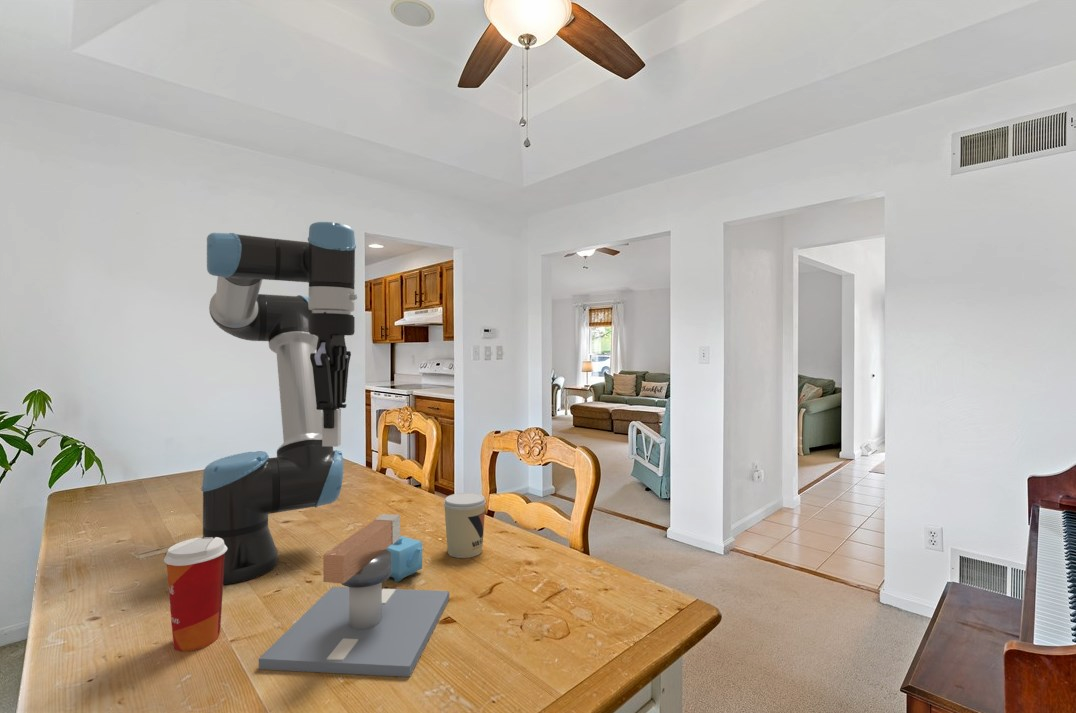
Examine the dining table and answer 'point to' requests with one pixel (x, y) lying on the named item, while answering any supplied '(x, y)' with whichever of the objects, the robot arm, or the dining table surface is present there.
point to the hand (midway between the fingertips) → (331, 445)
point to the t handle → (363, 554)
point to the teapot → (405, 557)
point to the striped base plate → (360, 632)
